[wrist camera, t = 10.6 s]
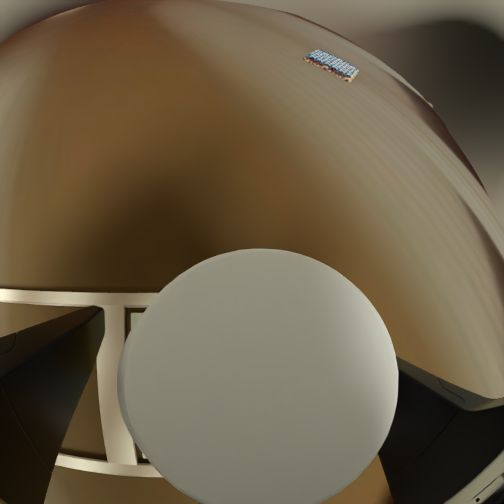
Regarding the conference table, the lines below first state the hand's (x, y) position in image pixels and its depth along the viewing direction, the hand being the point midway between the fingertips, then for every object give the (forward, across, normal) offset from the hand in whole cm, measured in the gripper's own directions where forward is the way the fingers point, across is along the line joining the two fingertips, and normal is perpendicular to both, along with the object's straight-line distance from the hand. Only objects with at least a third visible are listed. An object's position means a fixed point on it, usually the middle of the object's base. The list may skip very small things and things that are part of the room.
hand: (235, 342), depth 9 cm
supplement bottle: (+5, 0, +7) cm, 8 cm away
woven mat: (+45, -16, -33) cm, 58 cm away
